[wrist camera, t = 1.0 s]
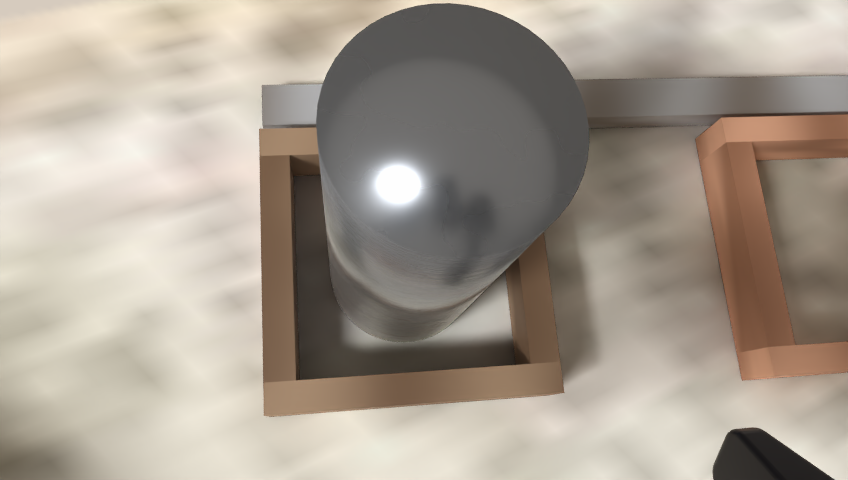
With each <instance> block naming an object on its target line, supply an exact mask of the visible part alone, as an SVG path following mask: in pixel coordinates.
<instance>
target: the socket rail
mask: <svg viewBox="0 0 848 480" xmlns="http://www.w3.org/2000/svg"><path fill="white" fill-rule="evenodd" d="M575 82H576V85H577V87H578V89H579V91H580V93H581V96H582V99H583V102H584V106H585V109H586V113H587V119H588V125H589V128H615V127H653V126H692V125H712V126H711V127H709V128H708V129H707V130H706V131H705V132H703V133H702V134H701V135H700V136H699V137H697V138H696V139H695V140H696V145H697V150H698V156H699V161H700V166H701V171H702V176H703V181H704V187H705V192H706V197H707V202H708V207H709V212H710V218H711V223H712V228H713V233H714V238H715V243H716V249H717V254H718V259H719V264H720V269H721V274H722V280H723V285H724V290H725V295H726V300H727V305H728V311H729V316H730V321H731V326H732V331H733V336H734V342H735V347H736V352H737V357H738V362H739V367H740V373H741V378H742V380H755V379H768V378H781V377H794V376H807V375H820V374H833V373H846V372H848V341H847V342H833V343H819V344H805V345H795V341H794V336H793V331H792V327H791V322H790V318H789V313H788V308H787V304H786V299H785V294H784V290H783V285H782V281H781V276H780V271H779V267H778V262H777V257H776V253H775V248H774V243H773V239H772V234H771V230H770V225H769V220H768V216H767V211H766V206H765V202H764V197H763V193H762V188H761V183H760V179H759V174H758V169H757V165H756V160H783V159H813V158H843V157H848V75H840V76H780V77H719V78H659V79H598V80H575ZM322 85H323V84H296V85H262V121H263V129H259V146H260V207H261V267H262V328H263V388H264V416H269V417H274V416H287V415H300V414H313V413H326V412H339V411H352V410H365V409H378V408H391V407H404V406H417V405H430V404H443V403H456V402H469V401H482V400H495V399H508V398H521V397H534V396H547V395H553V394H559V393H564V387H563V379H562V372H561V364H560V356H559V348H558V340H557V332H556V324H555V316H554V309H553V301H552V293H551V285H550V277H549V269H548V261H547V254H546V246H545V238H544V232H543V233H542V234H541V235H540V236H539V237H538V238H537V239H536V240H535V241H534V242H533V243H532V244H531V245H530V246H529V247H528V248H527V249H526V250H525V251H524V252H523V253H522V254H521V255H520V256H519V257H518V258H517V259H516V260H515V261H514V262H513V263H512V264H511V265H510V266H509V267H508V268H507V269H506V270H505V272H506V281H507V290H508V299H509V308H510V317H511V326H512V335H513V344H514V353H515V362H516V365H507V366H493V367H479V368H465V369H450V370H436V371H422V372H408V373H394V374H380V375H365V376H351V377H337V378H323V379H309V380H300V370H299V336H298V303H297V270H296V236H295V203H294V176H301V175H321V173H320V163H319V153H318V143H317V129H316V116H317V104H318V100H319V96H320V91H321V88H322Z"/></svg>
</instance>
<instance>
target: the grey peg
mask: <svg viewBox="0 0 848 480" xmlns="http://www.w3.org/2000/svg"><path fill="white" fill-rule="evenodd" d="M316 129H317V143H318V153H319V163H320V173H321V183H322V193H323V204H324V214H325V224H326V234H327V244H328V255H329V265H330V275H331V283H332V288H333V291H334V294H335V297H336V300H337V301H338V303H339V305H340V307H341V309H342V310H343V312H344V313H345V315H346V316H347V317H348V318H349V319H350V320H351V321H352V322H353V323H354V324H355V325H356V326H358V327H359V328H360V329H362V330H363V331H365V332H366V333H368V334H370V335H372V336H374V337H377V338H380V339H383V340H387V341H392V342H414V341H419V340H423V339H426V338H429V337H432V336H434V335H435V334H437V333H439V332H441V331H442V330H444V329H445V328H447V327H448V326H449V325H450V324H451V323H452V322H453V321H454V320H455V319H456V318H457V317H458V316H459V315H460V314H461V313H463V312H464V311H465V310H466V309H467V308H468V307H469V306H470V305H471V304H472V303H473V302H474V301H475V300H476V299H477V298H478V297H479V296H480V295H481V294H482V293H483V292H484V291H485V290H486V289H487V288H488V287H489V286H490V285H491V284H492V283H493V282H494V281H495V280H496V279H497V278H498V277H499V276H500V275H501V274H502V273H503V272H504V271H505V270H506V269H507V268H508V267H509V266H510V265H511V264H512V263H513V262H514V261H515V260H516V259H517V258H518V257H519V256H520V255H521V254H522V253H523V252H524V251H525V250H526V249H527V248H528V247H529V246H530V245H531V244H532V243H533V242H534V241H535V240H536V239H537V238H538V237H539V236H540V235H541V234H542V233H543V232H544V231H545V230H546V229H547V228H548V227H549V226H550V225H551V224H552V223H553V222H554V221H555V220H556V219H557V218H558V217H559V216H560V215H561V213H562V212H563V211H564V210H565V208H566V207H567V206H568V205H569V203H570V201H571V200H572V198H573V196H574V195H575V193H576V191H577V189H578V187H579V185H580V182H581V180H582V177H583V175H584V171H585V167H586V163H587V159H588V150H589V125H588V119H587V113H586V109H585V106H584V102H583V99H582V96H581V93H580V91H579V89H578V87H577V85H576V82H575V80H574V78H573V77H572V75H571V74H570V72H569V70H568V69H567V67H566V65H565V64H564V63H563V62H562V60H561V59H560V58H559V57H558V55H557V54H556V53H555V52H554V51H553V50H552V49H551V48H550V47H549V46H548V45H547V44H546V43H545V42H544V41H543V40H542V39H540V38H539V37H538V36H537V35H535V34H534V33H533V32H531V31H530V30H529V29H527V28H525V27H524V26H522V25H520V24H519V23H517V22H516V21H514V20H511V19H509V18H507V17H505V16H503V15H501V14H498V13H495V12H492V11H489V10H486V9H483V8H478V7H474V6H469V5H461V4H451V3H446V4H427V5H420V6H414V7H411V8H407V9H403V10H400V11H397V12H395V13H392V14H390V15H387V16H385V17H383V18H381V19H379V20H377V21H376V22H374V23H372V24H370V25H369V26H368V27H366V28H365V29H363V30H362V31H361V32H359V33H358V34H357V35H356V36H355V37H354V38H353V39H352V40H351V41H350V42H349V43H348V44H347V45H346V46H345V47H344V48H343V49H342V51H341V52H340V53H339V55H338V56H337V57H336V58H335V60H334V62H333V64H332V65H331V67H330V69H329V71H328V72H327V75H326V77H325V80H324V82H323V85H322V88H321V91H320V96H319V100H318V104H317V116H316Z"/></svg>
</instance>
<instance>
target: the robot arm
mask: <svg viewBox="0 0 848 480" xmlns="http://www.w3.org/2000/svg"><path fill="white" fill-rule="evenodd" d="M713 479H714V480H834V479H833V478H831V477H830V476H829V475H827V474H826V473H824V472H823V471H821V470H820V469H818V468H817V467H816V466H814V465H813V464H811V463H810V462H808V461H807V460H806V459H804V458H803V457H801V456H800V455H798V454H797V453H795V452H794V451H793V450H791V449H790V448H788V447H787V446H785V445H784V444H782V443H781V442H780V441H778V440H777V439H775V438H774V437H772V436H771V435H770V434H768V433H767V432H765V431H763V430H761V429H759V428H742V429H733V430H731V431H730V432H729V433H728V434H727V435H726V437H725V440H724V442H723V444H722V447H721V449H720V451H719V453H718V456H717V458H716V460H715V463H714V465H713Z"/></svg>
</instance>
